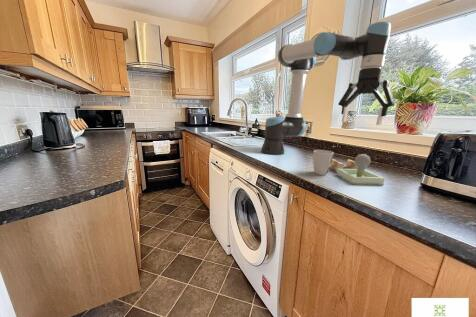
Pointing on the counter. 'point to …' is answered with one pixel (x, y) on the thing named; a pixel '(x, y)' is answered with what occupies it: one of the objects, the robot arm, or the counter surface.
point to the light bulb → (362, 163)
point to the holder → (339, 165)
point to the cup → (322, 161)
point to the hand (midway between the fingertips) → (360, 123)
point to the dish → (366, 178)
